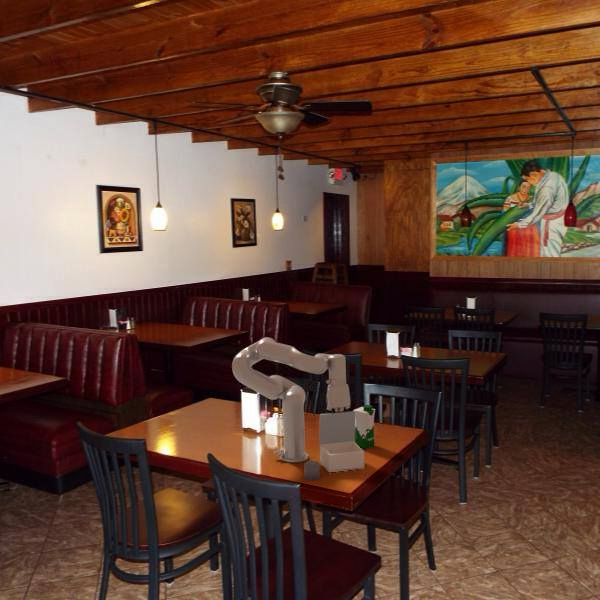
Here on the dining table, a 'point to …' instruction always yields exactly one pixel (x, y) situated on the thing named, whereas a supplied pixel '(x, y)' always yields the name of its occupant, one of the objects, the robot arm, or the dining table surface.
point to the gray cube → (311, 470)
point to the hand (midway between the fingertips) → (338, 421)
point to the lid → (336, 427)
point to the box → (341, 456)
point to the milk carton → (364, 426)
